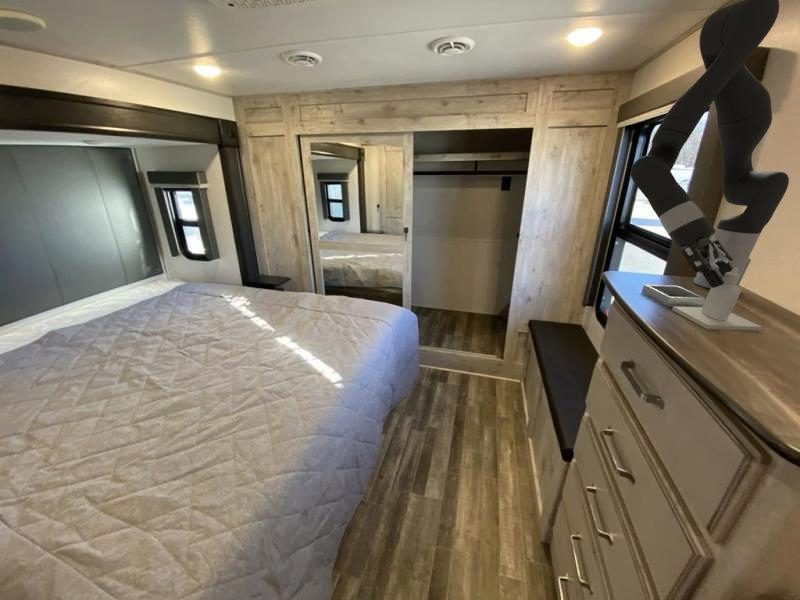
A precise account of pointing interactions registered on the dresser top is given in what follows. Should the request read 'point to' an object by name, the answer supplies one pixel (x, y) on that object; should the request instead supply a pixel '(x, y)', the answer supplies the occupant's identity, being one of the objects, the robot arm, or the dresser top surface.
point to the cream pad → (710, 323)
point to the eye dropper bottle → (722, 297)
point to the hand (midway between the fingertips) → (726, 283)
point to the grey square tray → (683, 299)
